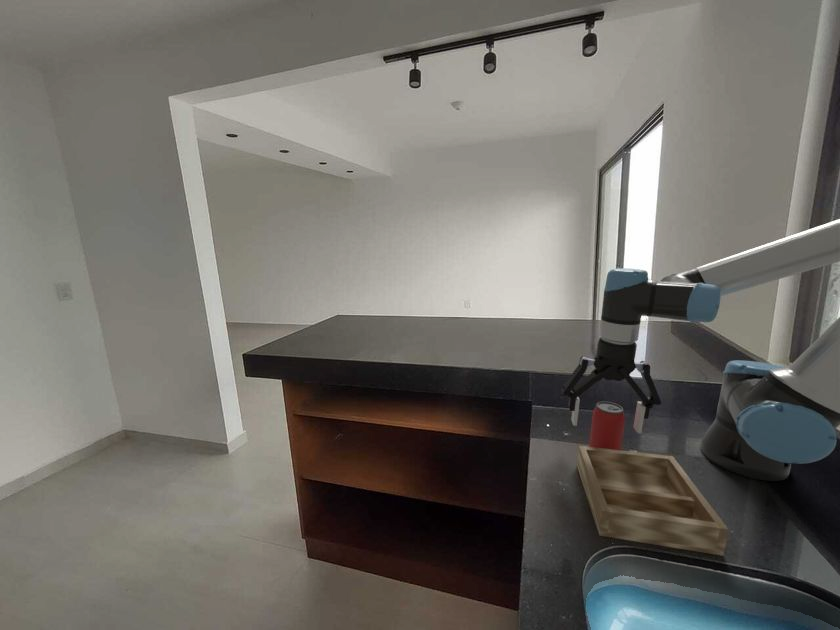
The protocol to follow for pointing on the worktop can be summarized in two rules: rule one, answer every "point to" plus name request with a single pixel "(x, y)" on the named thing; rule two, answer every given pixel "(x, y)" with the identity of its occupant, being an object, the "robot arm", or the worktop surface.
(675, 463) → the crate
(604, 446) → the beer can
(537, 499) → the worktop surface
